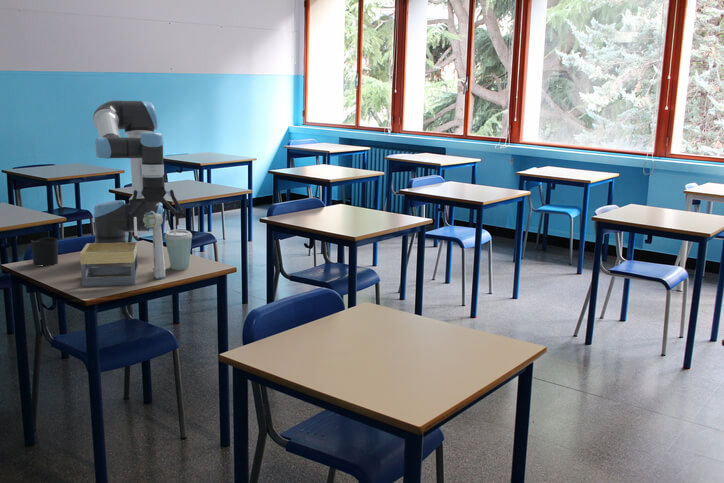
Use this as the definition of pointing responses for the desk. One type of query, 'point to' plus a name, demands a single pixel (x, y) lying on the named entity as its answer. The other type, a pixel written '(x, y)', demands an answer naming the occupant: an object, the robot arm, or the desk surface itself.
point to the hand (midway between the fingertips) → (155, 234)
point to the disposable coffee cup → (178, 248)
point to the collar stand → (109, 254)
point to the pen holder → (45, 251)
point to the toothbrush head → (156, 242)
